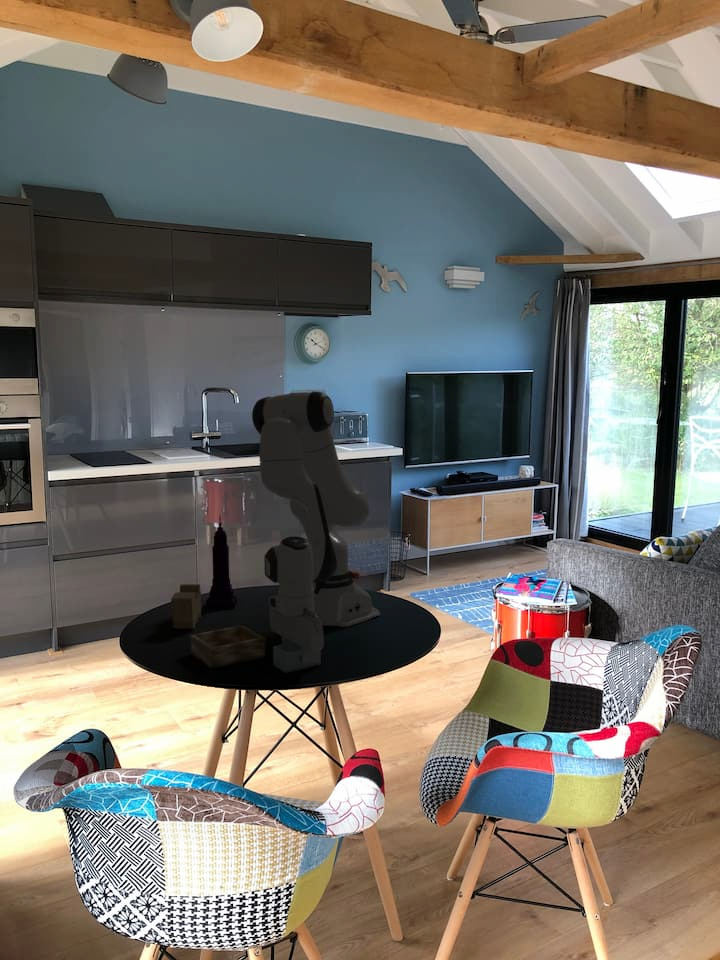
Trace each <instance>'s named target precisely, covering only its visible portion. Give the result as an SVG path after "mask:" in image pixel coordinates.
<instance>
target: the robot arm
mask: <svg viewBox="0 0 720 960" xmlns="http://www.w3.org/2000/svg"><path fill="white" fill-rule="evenodd" d="M334 412H335V410H334V405H333V402H332V399H331V398H330V397H329V396H328V394H326V393H325V392H323V391H322V392H321V391H314V390H313V391H311V392H306V391H305V392H303V391H300V392H289V393H285V394H280V395H279V394H278V395H274V396H266V397H262V398H260V399H258V400H257V401H256V402H255V404H254V405H253V407H252V414H251V417H252V423H253V424H252V425H253V426H254V428H255V430H256V431H257V433H258V434H259V435H260V438H259V439H260V441H259V469H260V473H259V474H260V478H261V482H262V484H263V485H264V487H265V488H266V490H268V491H269V492H270V493H272V494H274V495H276V496H278V497H280V498H284V499H287V500H289V508H290V511H291V513H292V515H293V516H294V517H295V518H296V519H297V520H298V522H299V523H300V524H301V526H302V529H303V530H304V532H305V536H306V538H305V537H301V536H288V537H285V538H283V539H282V540H280V542H279V545H275V546H271V547H270V548H269V549H268V550H267V552H266V553H265V554H264V559H263V561H264V575H265V577H266V578H267V579H269V580H270V581H271V582H272V583H274V584H276V583H277V584H279V585H278V586H279V587H278V590H277V595H273V596H269V597H268V606H270V607H269V624H270V628H271V631H272V632H273V633H275V634H276V635H279V636H280V637H281V642H282V644H286V643H290V642H293V643H295V644H297V645H299V646H301V647H302V651H303V653H302V655H301V656H300V662H301V663H303V664H307V663H309V656H310V654H311V652H314V651H319V650H321V651H322V650H323V648H324V646H325V641H324V640H325V639H324V638H325V637H324V629H323V627H324V626H331V627H332V626H334V627H342V628H345V627H350V626H354V625H357V624H360V623H363V622H367V621H369V620H372V619H371V618H373V617H376V616H379V615H380V616H381V613H380V610H379V609H377V608H375V607H373V601H372V597H371V595H370V594H369V593H368V592H367V591H366V590H364V589H363V588H362V587H360V586H359V585H358V584H356V583H355V582H354V580H359V579H360V577H361V573H359V572H357V571H351V570H349V546H348V544H347V542H346V541H345V540H344V538H343V537H341V536H340V535H339V532H338V531H337V529H336V527H339V528H354V527H359V526H361V525H363V524H364V523H365V522H366V520H367V519H368V517H369V513H370V503H369V500H368V498H367V496H366V495H365V494H364V493H362V492H361V491H360V490H359V489H358V488H357V487H356V486H355V485H354V484H353V483H352V482H351V480H350V479H349V477H348V476H347V475H346V473H345V472H344V470H343V467H342V465H341V463H340V460H339V456H338V453H337V448H336V445H335V440H334V437H333V434H332V430H331V427H330V426H331V425H332V423H333V422H334V417H335V413H334ZM380 616H379V617H380ZM376 618H377V617H376ZM368 619H369V620H368ZM373 619H374V618H373Z"/></svg>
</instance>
